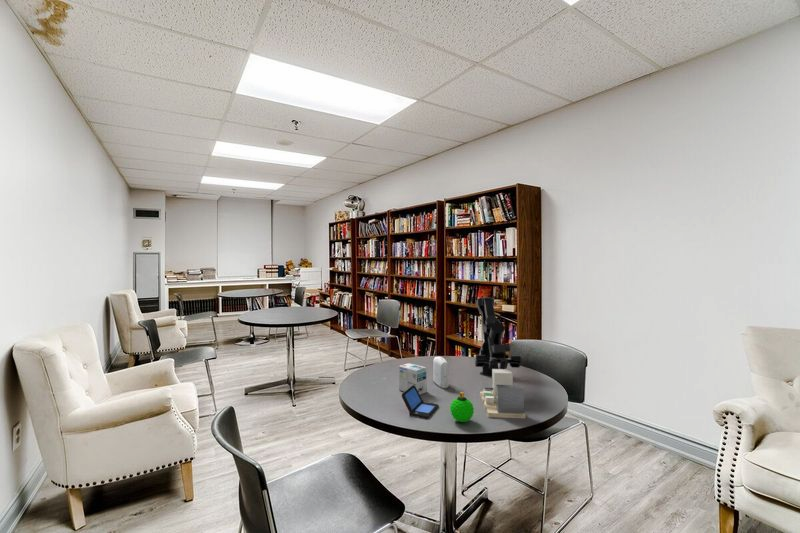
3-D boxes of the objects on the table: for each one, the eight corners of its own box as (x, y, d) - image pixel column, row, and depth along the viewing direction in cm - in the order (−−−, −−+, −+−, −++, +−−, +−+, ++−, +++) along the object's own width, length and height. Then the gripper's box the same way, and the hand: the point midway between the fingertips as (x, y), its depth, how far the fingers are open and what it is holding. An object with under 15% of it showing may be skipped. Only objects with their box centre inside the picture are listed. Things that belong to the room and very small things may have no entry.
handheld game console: (428, 420, 126) (428, 399, 126) (400, 414, 130) (400, 394, 130) (439, 407, 137) (439, 387, 137) (413, 402, 142) (413, 384, 142)
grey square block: (496, 409, 131) (496, 384, 131) (521, 410, 130) (521, 385, 130) (498, 412, 128) (497, 387, 128) (523, 413, 127) (523, 388, 127)
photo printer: (450, 387, 158) (449, 359, 158) (441, 388, 156) (440, 360, 156) (440, 380, 167) (440, 354, 167) (432, 381, 166) (432, 355, 166)
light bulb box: (427, 392, 153) (427, 366, 153) (417, 396, 148) (417, 370, 148) (408, 386, 160) (408, 362, 160) (398, 390, 155) (398, 365, 155)
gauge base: (480, 394, 149) (479, 385, 149) (511, 395, 148) (511, 386, 148) (488, 417, 128) (488, 406, 127) (525, 418, 126) (525, 407, 126)
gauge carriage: (484, 393, 146) (483, 368, 146) (509, 393, 145) (509, 369, 145) (486, 400, 138) (486, 374, 138) (514, 401, 137) (514, 375, 137)
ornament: (445, 422, 124) (445, 393, 124) (457, 414, 130) (457, 386, 130) (466, 428, 119) (466, 398, 119) (478, 420, 125) (478, 392, 125)
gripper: (475, 335, 152) (479, 369, 141) (520, 336, 150) (527, 370, 139) (473, 350, 160) (476, 382, 149) (516, 350, 158) (522, 383, 147)
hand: (500, 379), depth 146 cm, fingers closed
